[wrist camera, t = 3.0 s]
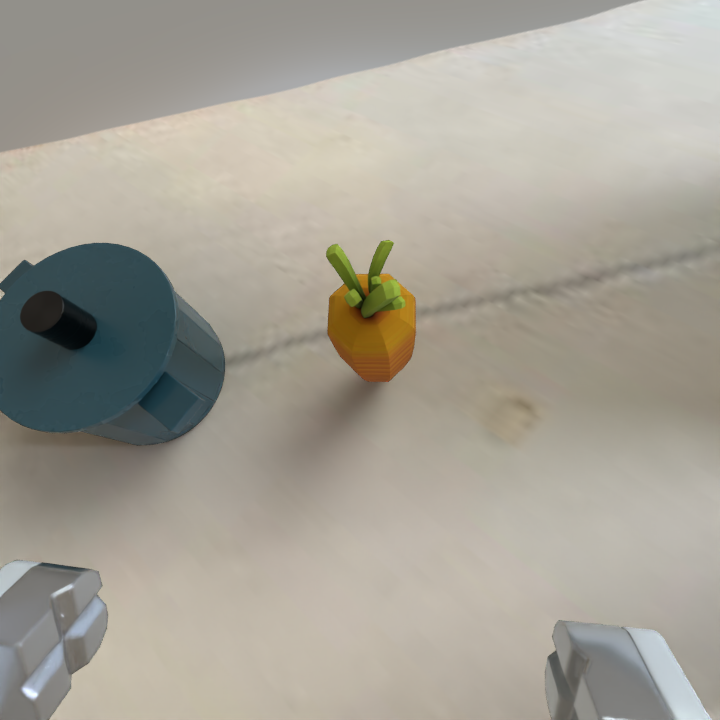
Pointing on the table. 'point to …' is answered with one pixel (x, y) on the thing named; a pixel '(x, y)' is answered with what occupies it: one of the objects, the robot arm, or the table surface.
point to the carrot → (371, 317)
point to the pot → (168, 383)
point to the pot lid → (84, 337)
